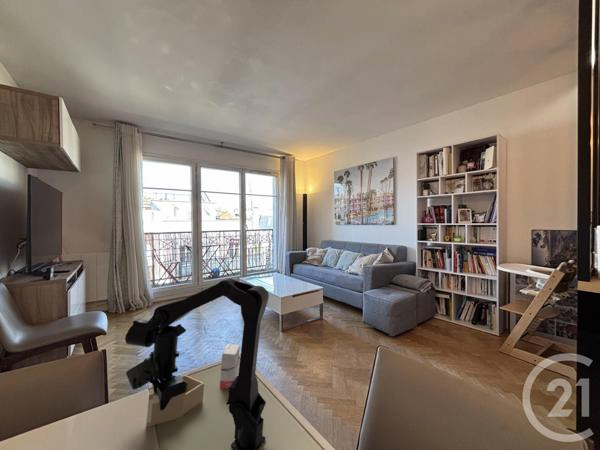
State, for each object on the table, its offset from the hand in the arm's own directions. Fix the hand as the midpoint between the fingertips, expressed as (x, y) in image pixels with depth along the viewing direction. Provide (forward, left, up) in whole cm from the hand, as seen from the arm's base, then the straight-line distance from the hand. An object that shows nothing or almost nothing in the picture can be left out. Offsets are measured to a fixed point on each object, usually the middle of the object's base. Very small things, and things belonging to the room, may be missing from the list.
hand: (160, 406), depth 68 cm
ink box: (-2, -26, -5) cm, 26 cm away
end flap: (0, -2, -5) cm, 5 cm away
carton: (+2, -9, -5) cm, 11 cm away
